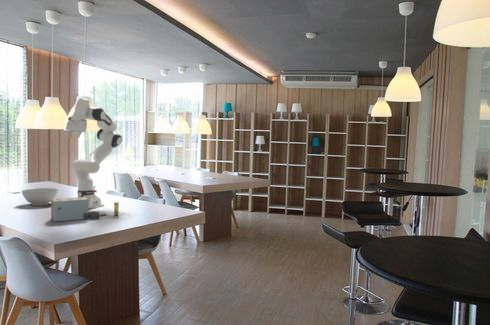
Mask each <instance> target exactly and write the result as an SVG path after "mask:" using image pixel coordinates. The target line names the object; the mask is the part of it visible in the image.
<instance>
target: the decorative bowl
mask: <svg viewBox="0 0 490 325" xmlns="http://www.w3.org/2000/svg"><path fill="white" fill-rule="evenodd" d="M58 192H59V189H57V188H51V187H49V188H48V187H40V188H39V187H37V188H36V187H35V188H27V189H22V190H21V194H22V196H23V198H24V199H25V201H27V203H30V205H31V206H37V207H39V206H40V207H41V206H47V205H49V203H51V199H56V196H57V195H58Z"/></svg>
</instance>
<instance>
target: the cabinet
mask: <svg viewBox="0 0 490 325" xmlns="http://www.w3.org/2000/svg"><path fill="white" fill-rule="evenodd" d="M79 199H87V198H86V197H78V196H76V197H61V198H54V199H51V202H50V219H51V221H52V222H54V201H63V200H79Z"/></svg>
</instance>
